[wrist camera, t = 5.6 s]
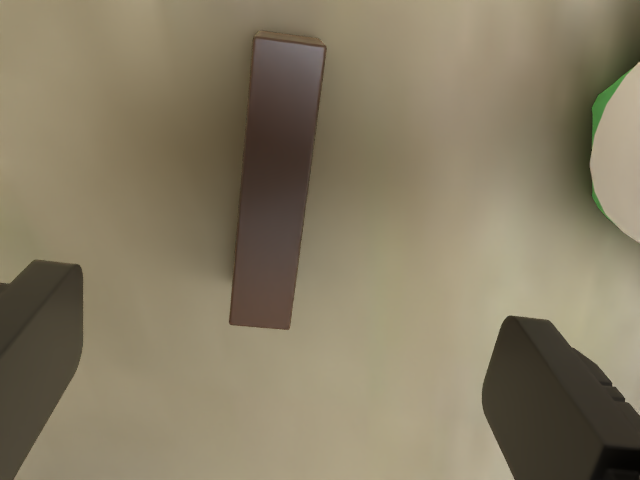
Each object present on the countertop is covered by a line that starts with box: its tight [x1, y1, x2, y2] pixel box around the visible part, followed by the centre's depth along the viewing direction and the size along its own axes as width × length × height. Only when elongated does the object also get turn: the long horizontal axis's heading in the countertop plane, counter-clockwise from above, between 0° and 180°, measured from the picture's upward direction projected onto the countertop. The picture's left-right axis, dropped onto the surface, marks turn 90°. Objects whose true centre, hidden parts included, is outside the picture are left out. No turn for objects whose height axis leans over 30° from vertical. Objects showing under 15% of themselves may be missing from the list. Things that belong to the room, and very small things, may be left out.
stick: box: [229, 30, 327, 330], centre depth 19 cm, size 9×2×3 cm, turn 172°
